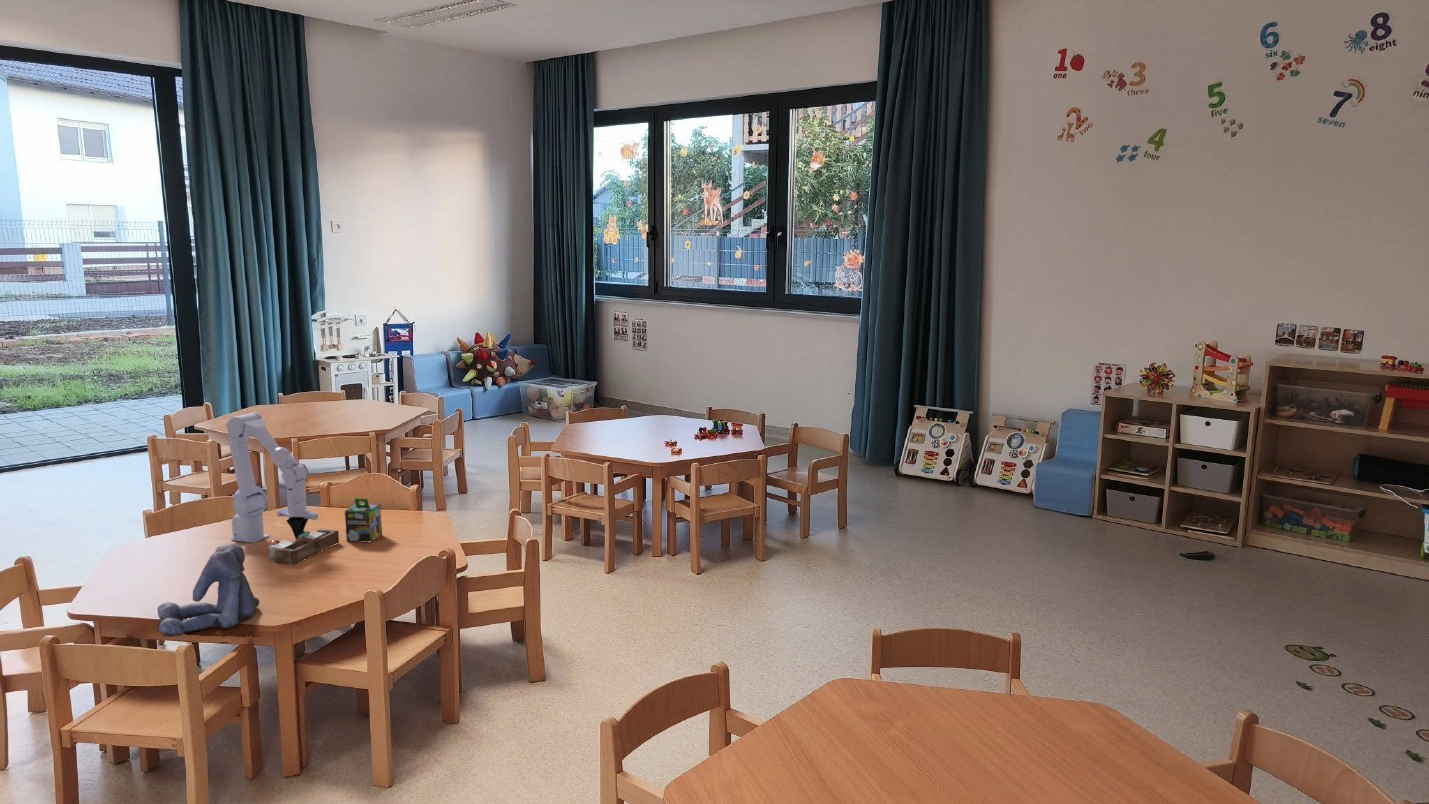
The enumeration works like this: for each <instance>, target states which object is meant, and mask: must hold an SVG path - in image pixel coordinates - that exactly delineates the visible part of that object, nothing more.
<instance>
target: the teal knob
mask: <svg viewBox="0 0 1429 804" xmlns="http://www.w3.org/2000/svg"><path fill="white" fill-rule="evenodd" d="M324 535H326V533H324V532H317V531H315V530H314V531H311V532H310V531H308V530H304V531H301V532H300V534H299V536H298V538H301V537H302V538H311V539H318V538H320V537H322V536H324Z"/></svg>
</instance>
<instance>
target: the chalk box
mask: <svg viewBox="0 0 1429 804" xmlns="http://www.w3.org/2000/svg"><path fill="white" fill-rule="evenodd" d="M360 502H362V503H360ZM354 503H355V504H353V505H351V506H350V507H349V508H347V509H345V510H344V519H345V532H346V533H345V535H346V537H345V538H346V541H347V540H348V541H347V542H354V541H372V540H373V539H374V538H376V539H378V538H379V537H380V535H381V534H382V535H383V526H382V511H381V510H382V509H381V504H380V503H369V500H368V499H367V498H357V497H356V498H354ZM382 535H381V536H382ZM378 536H379V537H378ZM377 537H378V538H377ZM373 541H374V540H373ZM373 541H372V542H373Z"/></svg>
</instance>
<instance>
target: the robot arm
mask: <svg viewBox="0 0 1429 804" xmlns="http://www.w3.org/2000/svg"><path fill="white" fill-rule="evenodd" d="M225 425H226V430H227V434H228V435H227V441H228V445H229V449H230V454H231V460H232V464H233V469H234V472H235V473H234V474H235V478H236V483H237V487H238V489H237V490H236V492H235V493H234V494H233V505H232V507H233V511H234V513H236V514H234V516H232V520H231V528H232V538H231V541H234V542H235V541H237V542H244V543H257V542H260V541H261V540H264V539H266V538H268V537H271V535H270V534H267V533H264V518H263V517H264V516H263V513H264V512H265V509H266V507H267V506H268V498H267V497H266V495H265V493H264V490H263V488H262V487H260V486H258V484H257V483H256V478H255V474H254V469H253V465H252V460H251V456H250V455H251V454H250V450H249V446H248V445H249V444H248V440H249V439H250V438H255V439H256V441H258V442H259V444H261V445H262V446H263V447H264V448H265V449H266V451H268V452H269V453H270V457H269V458H270V460H271V461H272V462H273V464H274V465H275V466H276V467H277V468H278V469H279V471H281V473H282V474H281V478H282V481H283V482H284V485H285V488H286V496H287V497H286V501H287V502H286V503H287V509H278V510H277V511H276V514H277V517H286V518H288V519H287V520H286V523H287V524H288V525H289V527H290V529H291V531H292V533H293V535H294V539H295V540H296V539H298V536H299V534H300V532H301V531H305V527H306V525H307V523H308V521H309V520H311V521H316V520H318V519H319V513H318V512H314V511H310V510H307V497H306V479H307V478H308V476H309V469H308V467H307V466H306V464H305V463H302V462H299V461H297V460H296V458H295V457H294V456H293V455H292V453H290V452H289V450H288V449H287V448H286V447H280V446H279V444H278V443H277V441H276V440H275V439H274V437H273V436H272V435H271V433H270V431H268V429H267V428H266V420H264V419H263V417H262V416H261V415H260V413H258V412H255V411H253V412H251V413H247V414H241V415H237V416H235V415H234V416H231V417H230V418H229V419H228V421H227V422H226V424H225Z"/></svg>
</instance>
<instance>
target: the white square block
mask: <svg viewBox="0 0 1429 804" xmlns="http://www.w3.org/2000/svg"><path fill="white" fill-rule="evenodd" d="M276 548H285V549H296V548H297V542H295V541H292V540H281V541H280V540H275V539H272V540H270V541H269V542H268V544H267V547H266V549H267V552H268V554H269V558H270V559H275V549H276Z"/></svg>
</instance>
